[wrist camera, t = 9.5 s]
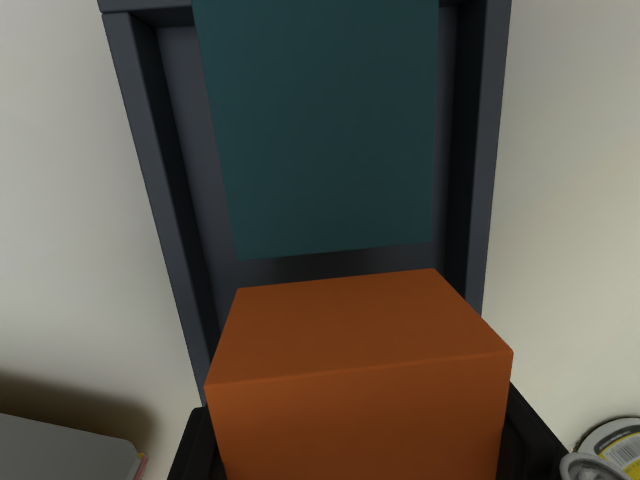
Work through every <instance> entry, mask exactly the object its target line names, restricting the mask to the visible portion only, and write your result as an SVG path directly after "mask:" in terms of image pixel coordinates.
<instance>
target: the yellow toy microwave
mask: <svg viewBox="0 0 640 480" xmlns="http://www.w3.org/2000/svg"><path fill="white" fill-rule="evenodd" d="M147 461H148V458H147V456H146V455H145V454H143V453H138V452H137V451H136V449H135V447H134V445H133V444H132V443H131V442H130V441H128V440H124V439H119V438H114V437H110V436H105V435H100V434H96V433H91V432H86V431H82V430H77V429H72V428H68V427H63V426H58V425H54V424H49V423H44V422H40V421H35V420H30V419H26V418H21V417H16V416H12V415H7V414H2V413H0V480H141V479H142V476H143V473H144V470H145V467H146V464H147Z"/></svg>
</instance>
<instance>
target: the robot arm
mask: <svg viewBox="0 0 640 480" xmlns="http://www.w3.org/2000/svg"><path fill="white" fill-rule="evenodd" d="M167 480H227V476H226V472H225V468H224V464H223V462H222V460H221V456H220V452H219V448H218V444H217V440H216V436H215V432H214V428H213V424H212V420H211V416H210V412H209V408H208V404H207V402H206V405H205V407H199V408H194V409H193V410H192V412H191V414H190V417H189V419H188V422H187V425H186V428H185V430H184V433H183V436H182V439H181V442H180V444H179V447H178V450H177V453H176V455H175V458H174V461H173V464H172V466H171V469H170V472H169V475H168V478H167ZM495 480H632V479H631V478H630V477H629V476H628V475H627V474H626V473H625V472H624V471H623V470H621V469H620V468H619V467H617V466H616V465H614V464H613V463H611V462H609V461H607V460H605V459H603V458H601V457H599V456H596V455H593V454H589V453H584V452H573V453H569V452H568V450H567V449H566V448H565V447H564V446H563V444H562V443H561V442H560V441H559V440H558V438H557V437H556V436H555V435H554V434H553V432H552V431H551V430H550V429H549V428H548V426H547V425H546V424H545V423H544V421H543V420H542V419H541V418H540V417H539V415H538V414H537V413H536V412H535V411H534V409H533V408H532V407H531V406H530V405H529V403H528V402H527V401H526V400H525V399H524V397H523V396H522V395H521V394H520V393H519V391H518V390H517V389H516V388H515V387H514V385H513V384H512V383H511V382H510V383H509V390H508V397H507V405H506V412H505V419H504V426H503V428H502V435H501V443H500V450H499V457H498V464H497V472H496V479H495Z"/></svg>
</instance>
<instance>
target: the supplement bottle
mask: <svg viewBox="0 0 640 480" xmlns="http://www.w3.org/2000/svg"><path fill="white" fill-rule="evenodd" d="M578 452H584V453H589V454H593V455H596V456H599V457H601V458H603V459H605V460H607V461H609V462H611V463H613V464H614V465H616V466H617V467H619V468H620V469H621V470H623V471H624V472H625V473H626V474H627V475H628V476H629V477H630V478H631V479H632V480H640V419H638V418H623V419H618V420H614V421H611V422H609V423H606V424H604V425H602V426H600V427H599V428H597V429H596V430H594V431H593V432H592V433H591V434H590V435H589V436H588V437H587V438H586V439H585V440H584V442H583V443H582V444H581V446H580V448H579V450H578Z"/></svg>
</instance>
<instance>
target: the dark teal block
mask: <svg viewBox="0 0 640 480" xmlns="http://www.w3.org/2000/svg"><path fill="white" fill-rule="evenodd" d="M191 5H192V10H193V16H194V21H195V27H196V32H197V38H198V44H199V49H200V55H201V60H202V66H203V72H204V77H205V83H206V88H207V94H208V100H209V105H210V111H211V116H212V122H213V128H214V133H215V139H216V144H217V150H218V156H219V161H220V167H221V172H222V178H223V184H224V189H225V195H226V200H227V206H228V212H229V217H230V223H231V228H232V234H233V240H234V245H235V251H236V256H237V260H238V261H247V260H257V259H267V258H277V257H287V256H297V255H307V254H317V253H327V252H337V251H347V250H357V249H367V248H377V247H387V246H397V245H407V244H417V243H427V242H430V241H431V216H432V187H433V158H434V128H435V99H436V70H437V40H438V11H439V0H191Z"/></svg>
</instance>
